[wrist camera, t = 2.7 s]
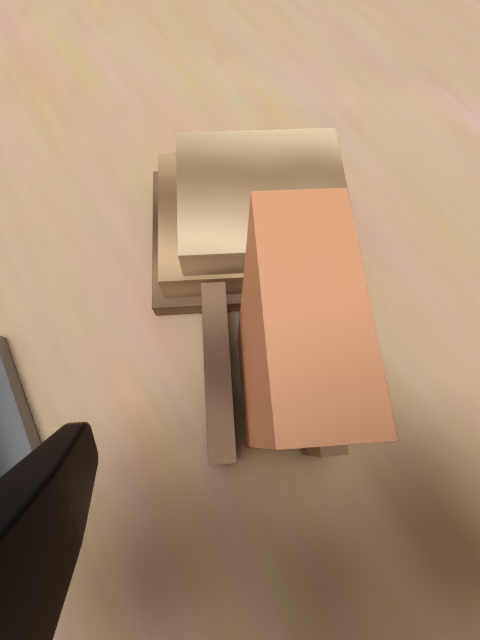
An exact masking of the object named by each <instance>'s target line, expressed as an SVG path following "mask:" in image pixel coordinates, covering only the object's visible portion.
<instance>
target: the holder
mask: <svg viewBox="0 0 480 640" xmlns="http://www.w3.org/2000/svg"><path fill="white" fill-rule="evenodd" d="M40 444H41V442H40V439H39V436H38V433H37V430H36V427H35V424H34V421H33V418H32V415H31V412H30V409H29V406H28V403H27V401H26V398H25V395H24V392H23V389H22V386H21V383H20V380H19V377H18V374H17V371H16V368H15V365H14V362H13V359H12V356H11V353H10V351H9V348H8V345H7V342H6V339H5V338H4V337H2V336H0V477H1V476H2V475H3V474H5V473H6V472H7V471H8V470H9V469H11V468H12V467H13V466H14V465H16V464H17V463H18V462H19V461H20V460H22V459H23V458H24V457H25V456H27V455H28V454H29V453H30V452H31V451H33V450H34V449H35V448H36V447H38V446H39V445H40Z"/></svg>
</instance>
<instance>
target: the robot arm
mask: <svg viewBox="0 0 480 640" xmlns="http://www.w3.org/2000/svg"><path fill="white" fill-rule="evenodd" d="M97 466H98V451H97V447H96V443H95V440H94V436H93V433H92V429H91V426H90V425H89V423H87V422H74V423H67V424H65V425H63V426H62V427H61V428H60V429H58V430H57V431H56V432H55V433H53V434H52V435H51V436H50V437H49V438H47V439H46V440H45V441H44V442H42V443H41V444H40V445H39V446H38V447H36V448H35V449H34V450H33V451H31V452H30V453H29V454H28V455H27V456H25V457H24V458H23V459H22V460H20V461H19V462H18V463H17V464H16V465H14V466H13V467H12V468H11V469H9V470H8V471H7V472H6V473H5V474H3V475H2V476H1V477H0V640H53V637H54V634H55V631H56V627H57V624H58V621H59V618H60V614H61V611H62V608H63V605H64V601H65V598H66V595H67V591H68V588H69V585H70V582H71V578H72V575H73V572H74V569H75V565H76V562H77V559H78V556H79V552H80V548H81V545H82V541H83V536H84V532H85V527H86V522H87V517H88V512H89V507H90V502H91V496H92V491H93V486H94V481H95V476H96V471H97Z"/></svg>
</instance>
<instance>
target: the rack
mask: <svg viewBox="0 0 480 640" xmlns="http://www.w3.org/2000/svg"><path fill="white" fill-rule="evenodd" d="M323 188H347V184H346V179H345V174H344V169H343V164H342V159H341V155H340V150H339V145H338V140H337V135H336V130H335V128H307V129H272V130H237V131H202V132H176V153H158V171H156V172H153V254H152V309H153V311H154V313H155V314H156V315H170V314H188V313H202V320H203V346H204V372H205V398H206V425H207V451H208V465H220V464H233V463H237V461H236V445H235V429H234V413H233V397H232V381H231V365H230V349H229V333H228V317H227V311H240V308H241V297H242V286H243V275H244V264H245V253H246V242H247V231H248V220H249V209H250V198H251V191H270V190H297V189H323ZM347 191H348V189H347ZM348 196H349V194H348ZM349 200H350V199H349ZM350 205H351V204H350ZM351 210H352V209H351ZM352 215H353V214H352ZM353 220H354V219H353ZM354 225H355V224H354ZM355 230H356V229H355ZM356 235H357V234H356ZM357 240H358V238H357ZM358 245H359V243H358ZM301 451H302V454H304V455H311V456H319V457H324V456H337V455H349V454H348V448H347V445H335V446H322V447H309V448H301Z"/></svg>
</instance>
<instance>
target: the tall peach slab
mask: <svg viewBox="0 0 480 640" xmlns="http://www.w3.org/2000/svg"><path fill="white" fill-rule="evenodd" d="M238 351H239V365H240V379H241V394H242V408H243V422H244V436H245V447H253V448H263V449H272V450H282V449H295V448H309V447H322V446H335V445H348V444H362V443H375V442H388V441H398V438H397V433H396V428H395V423H394V418H393V413H392V408H391V403H390V398H389V393H388V388H387V384H386V379H385V374H384V369H383V364H382V359H381V354H380V349H379V344H378V339H377V334H376V329H375V324H374V319H373V314H372V309H371V304H370V299H369V294H368V290H367V285H366V280H365V275H364V270H363V265H362V260H361V255H360V250H359V245H358V240H357V235H356V230H355V225H354V220H353V215H352V210H351V205H350V200H349V196H348V191H347V188H323V189H297V190H270V191H251V198H250V209H249V220H248V231H247V242H246V253H245V264H244V275H243V286H242V297H241V308H240V319H239V330H238Z"/></svg>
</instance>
